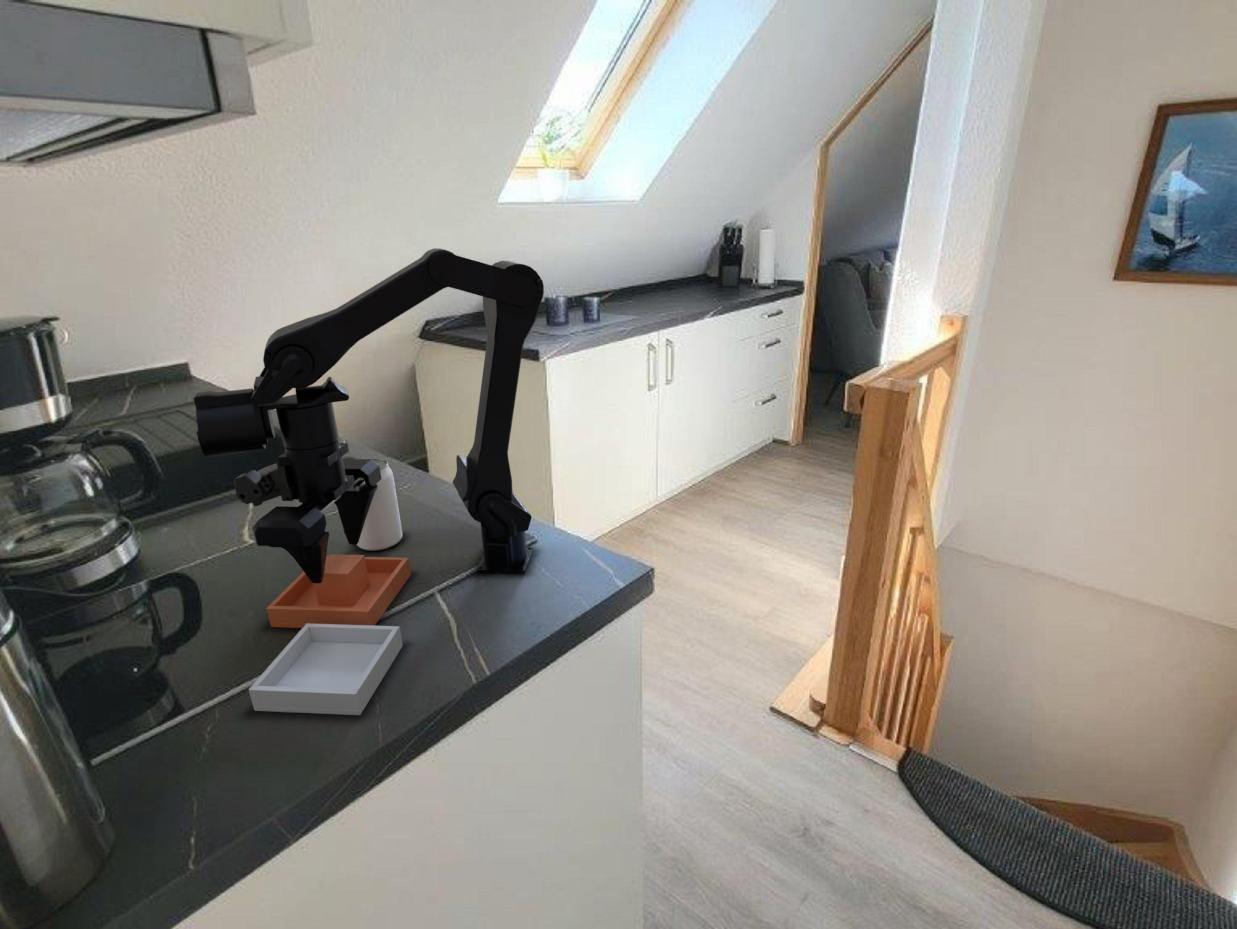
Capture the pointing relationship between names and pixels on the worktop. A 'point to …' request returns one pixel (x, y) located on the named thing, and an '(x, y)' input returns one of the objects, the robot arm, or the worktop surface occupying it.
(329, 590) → the block
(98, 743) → the worktop surface
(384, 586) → the terracotta tray
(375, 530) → the can
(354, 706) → the steel tray
